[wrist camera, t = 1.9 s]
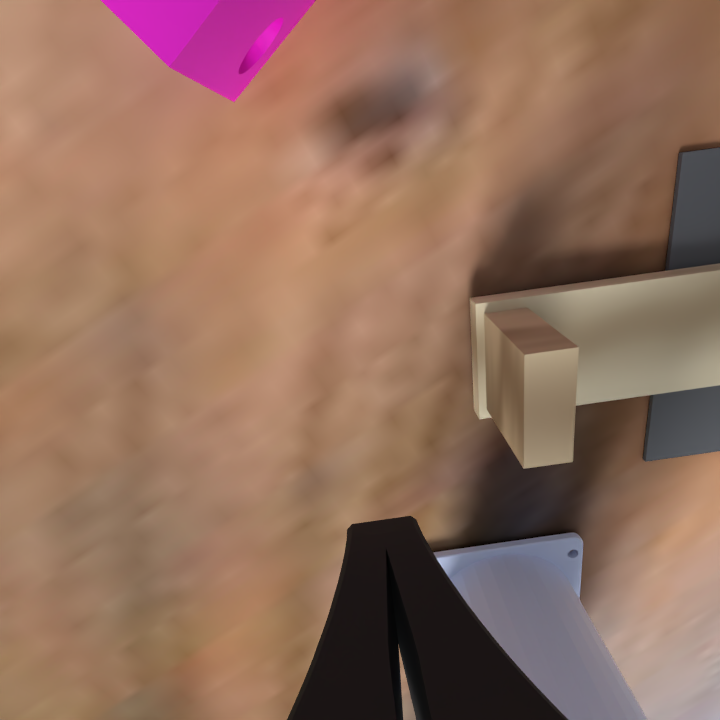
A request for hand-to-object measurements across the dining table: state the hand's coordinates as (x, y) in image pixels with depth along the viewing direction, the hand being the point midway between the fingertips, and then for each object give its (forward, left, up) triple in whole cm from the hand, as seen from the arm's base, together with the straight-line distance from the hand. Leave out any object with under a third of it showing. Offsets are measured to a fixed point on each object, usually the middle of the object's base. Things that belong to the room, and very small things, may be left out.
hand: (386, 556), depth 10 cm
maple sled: (0, -23, -10) cm, 25 cm away
